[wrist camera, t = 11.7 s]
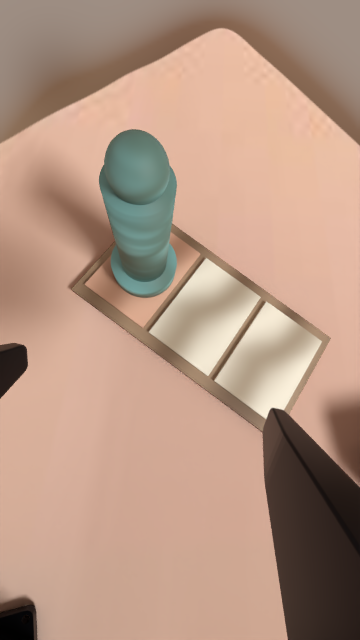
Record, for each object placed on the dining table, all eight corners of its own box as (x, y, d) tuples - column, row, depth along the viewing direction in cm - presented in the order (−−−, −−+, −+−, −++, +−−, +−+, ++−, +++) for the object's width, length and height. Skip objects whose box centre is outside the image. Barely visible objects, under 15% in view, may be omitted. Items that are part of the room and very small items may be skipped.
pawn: (136, 309, 21) (115, 225, 9) (101, 260, 22) (35, 117, 10) (187, 276, 22) (229, 161, 10) (152, 230, 23) (152, 69, 11)
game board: (326, 338, 24) (333, 337, 23) (271, 438, 21) (276, 441, 20) (147, 209, 24) (147, 203, 24) (73, 291, 22) (70, 288, 21)
